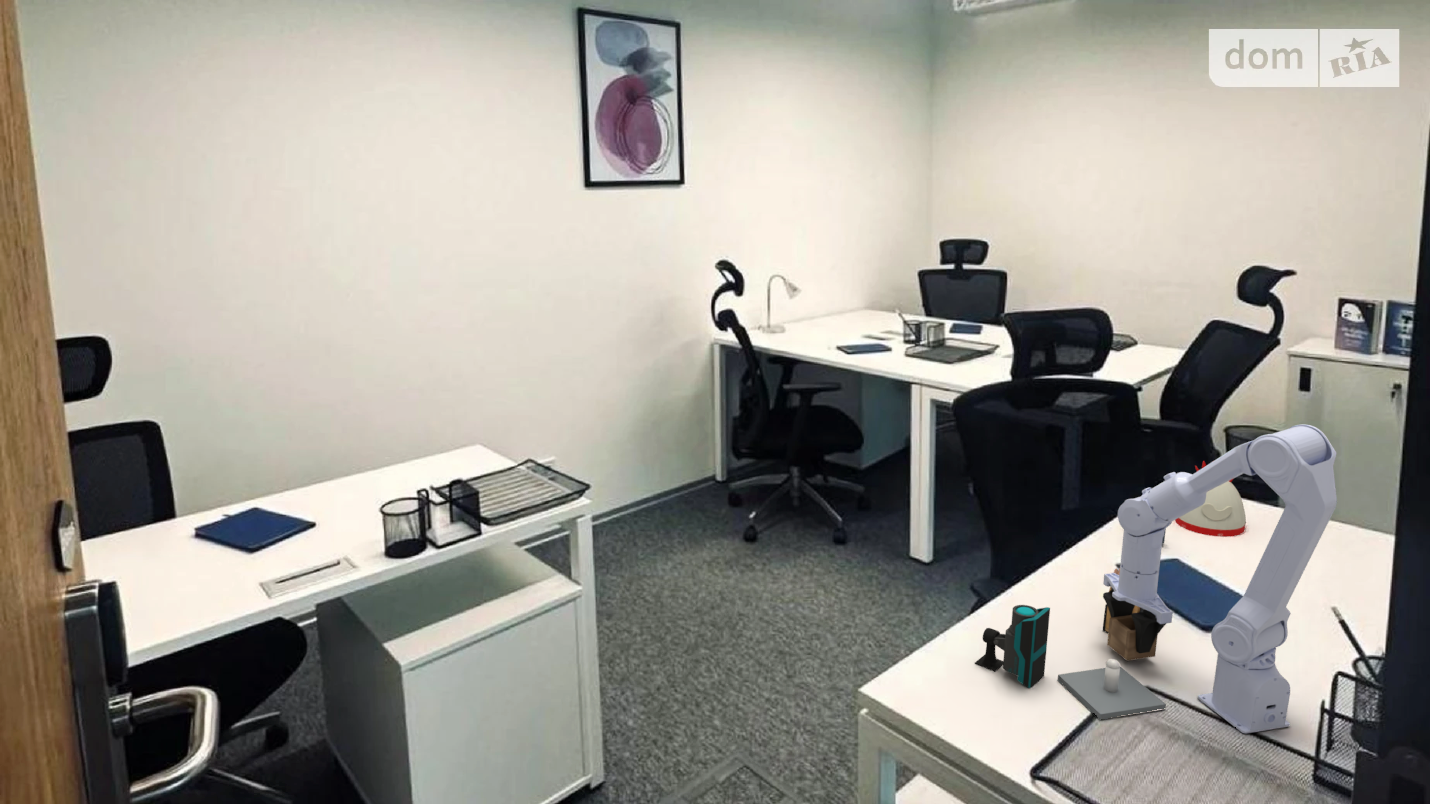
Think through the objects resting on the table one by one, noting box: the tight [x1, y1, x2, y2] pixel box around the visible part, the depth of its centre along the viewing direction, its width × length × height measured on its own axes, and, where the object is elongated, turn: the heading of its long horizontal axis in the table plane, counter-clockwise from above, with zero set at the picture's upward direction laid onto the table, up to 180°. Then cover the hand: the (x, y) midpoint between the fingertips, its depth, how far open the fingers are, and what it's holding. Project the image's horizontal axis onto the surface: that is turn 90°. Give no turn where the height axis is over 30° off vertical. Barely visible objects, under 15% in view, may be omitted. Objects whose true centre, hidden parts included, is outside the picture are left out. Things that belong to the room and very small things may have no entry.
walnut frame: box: [1106, 615, 1159, 661], centre depth 149 cm, size 5×5×5 cm
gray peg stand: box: [1057, 658, 1167, 720], centre depth 139 cm, size 11×11×6 cm
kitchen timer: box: [1174, 460, 1247, 538], centre depth 201 cm, size 14×14×15 cm
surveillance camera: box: [974, 604, 1051, 689], centre depth 145 cm, size 6×12×10 cm
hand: (1131, 642), depth 149 cm, fingers closed on walnut frame, 5 cm apart
